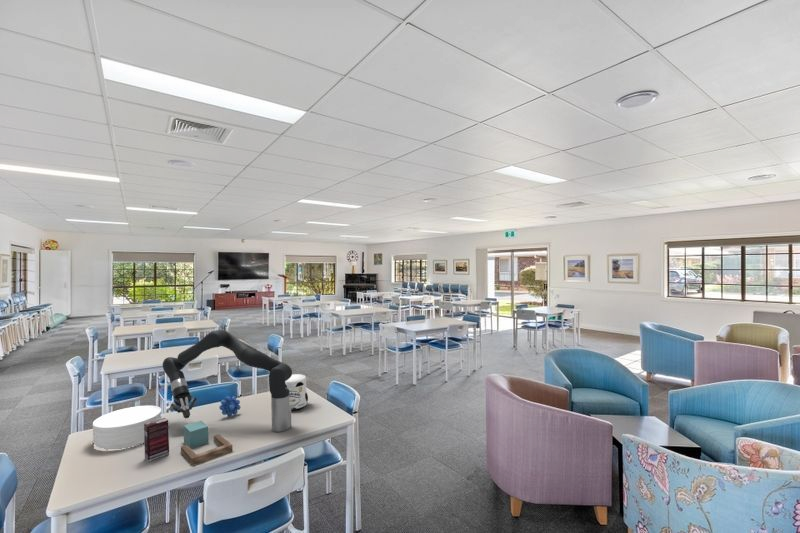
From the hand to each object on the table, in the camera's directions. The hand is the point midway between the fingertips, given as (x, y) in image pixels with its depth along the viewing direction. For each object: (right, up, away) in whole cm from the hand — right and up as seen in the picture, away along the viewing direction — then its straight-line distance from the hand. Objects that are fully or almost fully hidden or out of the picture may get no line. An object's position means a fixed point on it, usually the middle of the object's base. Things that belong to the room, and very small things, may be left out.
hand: (187, 417), depth 191 cm
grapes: (+13, -8, +20) cm, 26 cm away
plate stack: (-27, -9, -4) cm, 29 cm away
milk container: (+45, -8, +34) cm, 57 cm away
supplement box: (0, -8, -24) cm, 25 cm away
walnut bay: (+21, -8, -20) cm, 30 cm away
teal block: (+10, -8, -10) cm, 16 cm away
